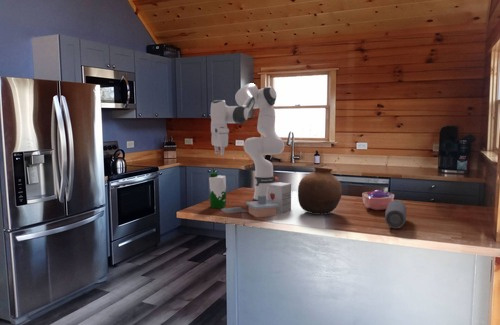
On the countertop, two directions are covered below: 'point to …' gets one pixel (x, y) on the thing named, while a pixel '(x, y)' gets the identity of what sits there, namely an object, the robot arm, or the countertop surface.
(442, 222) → the countertop surface
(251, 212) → the dish
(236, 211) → the mat
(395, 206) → the bluetooth speaker
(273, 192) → the supplement box
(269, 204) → the lid
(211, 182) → the milk carton
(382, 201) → the cell model
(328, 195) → the pottery
